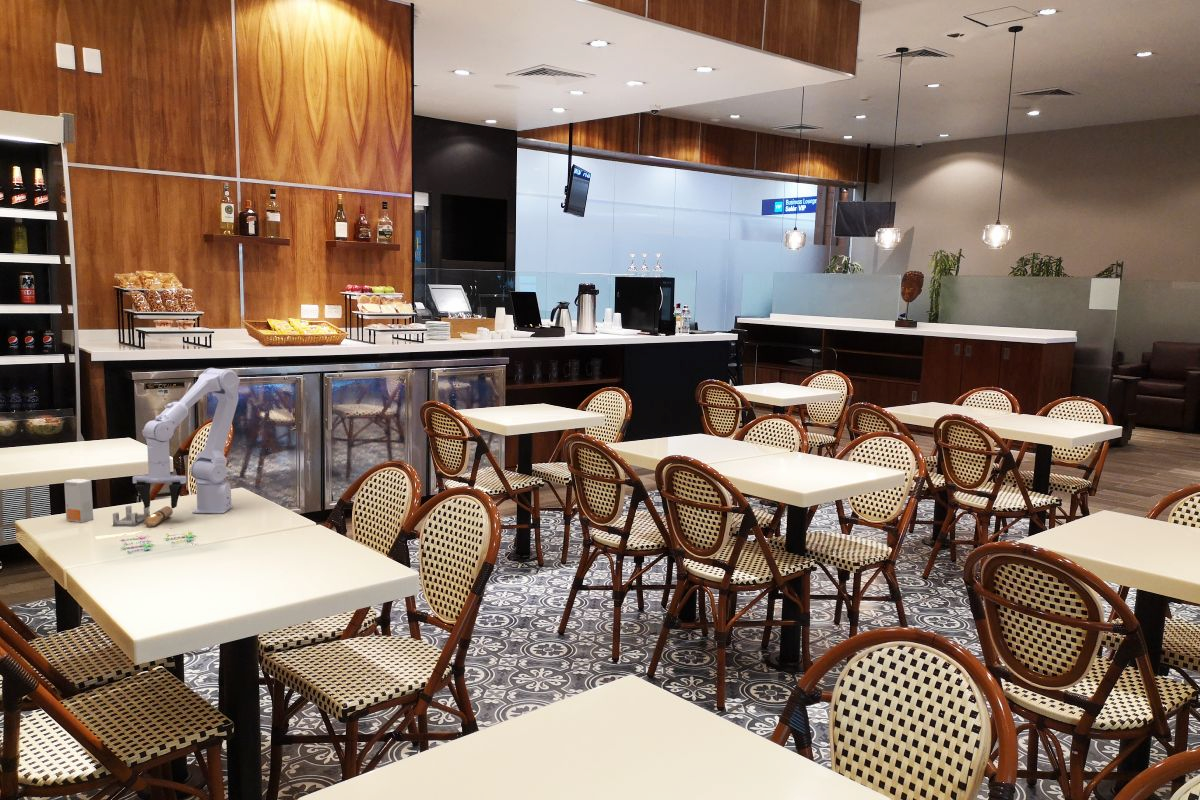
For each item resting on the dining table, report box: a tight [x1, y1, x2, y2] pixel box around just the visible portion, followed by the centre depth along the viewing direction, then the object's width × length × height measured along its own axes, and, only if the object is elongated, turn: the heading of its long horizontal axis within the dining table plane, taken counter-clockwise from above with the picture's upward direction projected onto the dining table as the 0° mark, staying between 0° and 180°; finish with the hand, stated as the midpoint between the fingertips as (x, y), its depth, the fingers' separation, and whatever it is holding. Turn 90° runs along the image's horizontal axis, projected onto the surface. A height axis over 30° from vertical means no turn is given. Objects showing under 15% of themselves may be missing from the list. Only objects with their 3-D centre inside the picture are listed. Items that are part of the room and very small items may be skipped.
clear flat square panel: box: [94, 530, 195, 554], centre depth 244 cm, size 30×30×2 cm
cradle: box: [112, 505, 151, 527], centre depth 263 cm, size 6×10×4 cm, turn 3°
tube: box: [143, 505, 174, 528], centre depth 264 cm, size 12×3×3 cm, turn 3°
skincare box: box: [63, 478, 94, 524], centre depth 263 cm, size 6×4×12 cm
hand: (160, 507), depth 263 cm, fingers open, 7 cm apart
